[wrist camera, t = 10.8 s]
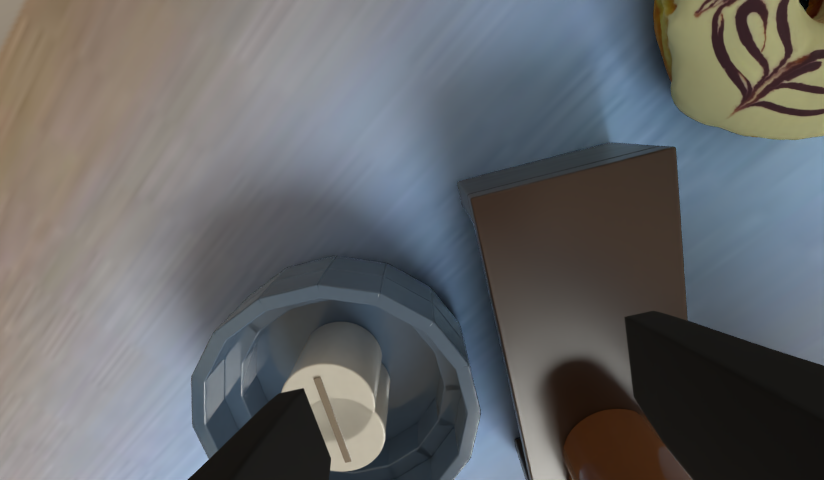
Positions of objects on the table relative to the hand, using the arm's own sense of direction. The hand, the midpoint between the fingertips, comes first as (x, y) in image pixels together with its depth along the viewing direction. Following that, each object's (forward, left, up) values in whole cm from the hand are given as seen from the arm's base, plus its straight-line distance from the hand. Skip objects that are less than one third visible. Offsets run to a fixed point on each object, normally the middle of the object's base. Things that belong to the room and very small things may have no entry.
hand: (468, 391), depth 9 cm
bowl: (-5, +6, -10) cm, 13 cm away
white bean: (-5, +6, -10) cm, 13 cm away
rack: (-5, -5, -10) cm, 13 cm away
